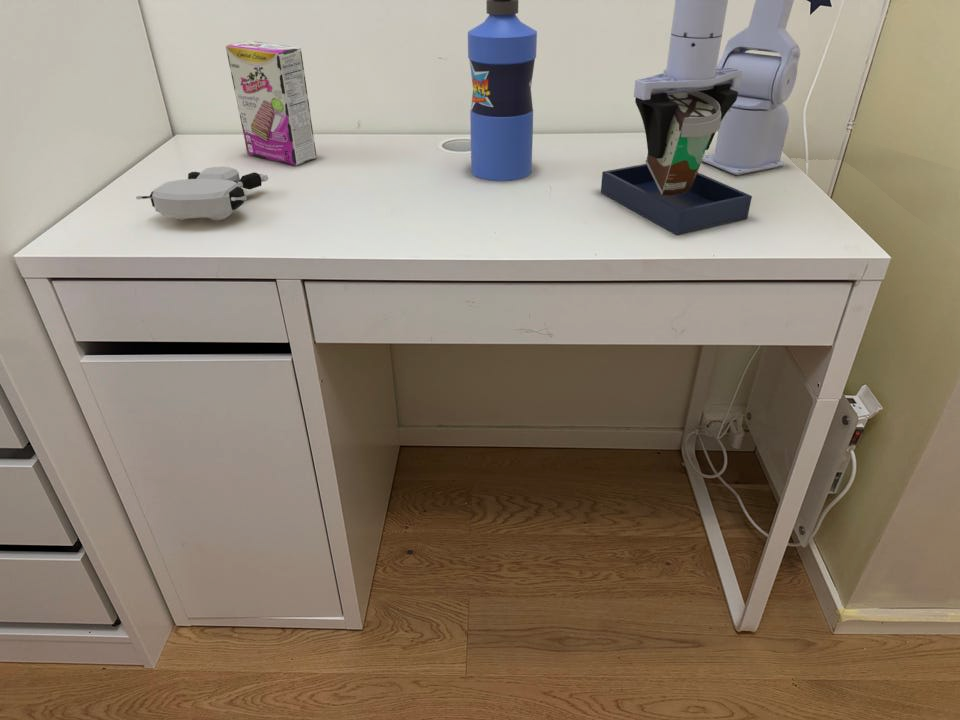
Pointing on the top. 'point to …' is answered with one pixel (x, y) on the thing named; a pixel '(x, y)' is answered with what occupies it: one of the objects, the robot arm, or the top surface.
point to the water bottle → (501, 94)
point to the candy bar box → (272, 101)
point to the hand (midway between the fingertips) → (678, 152)
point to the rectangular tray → (676, 200)
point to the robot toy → (204, 194)
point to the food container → (685, 142)
